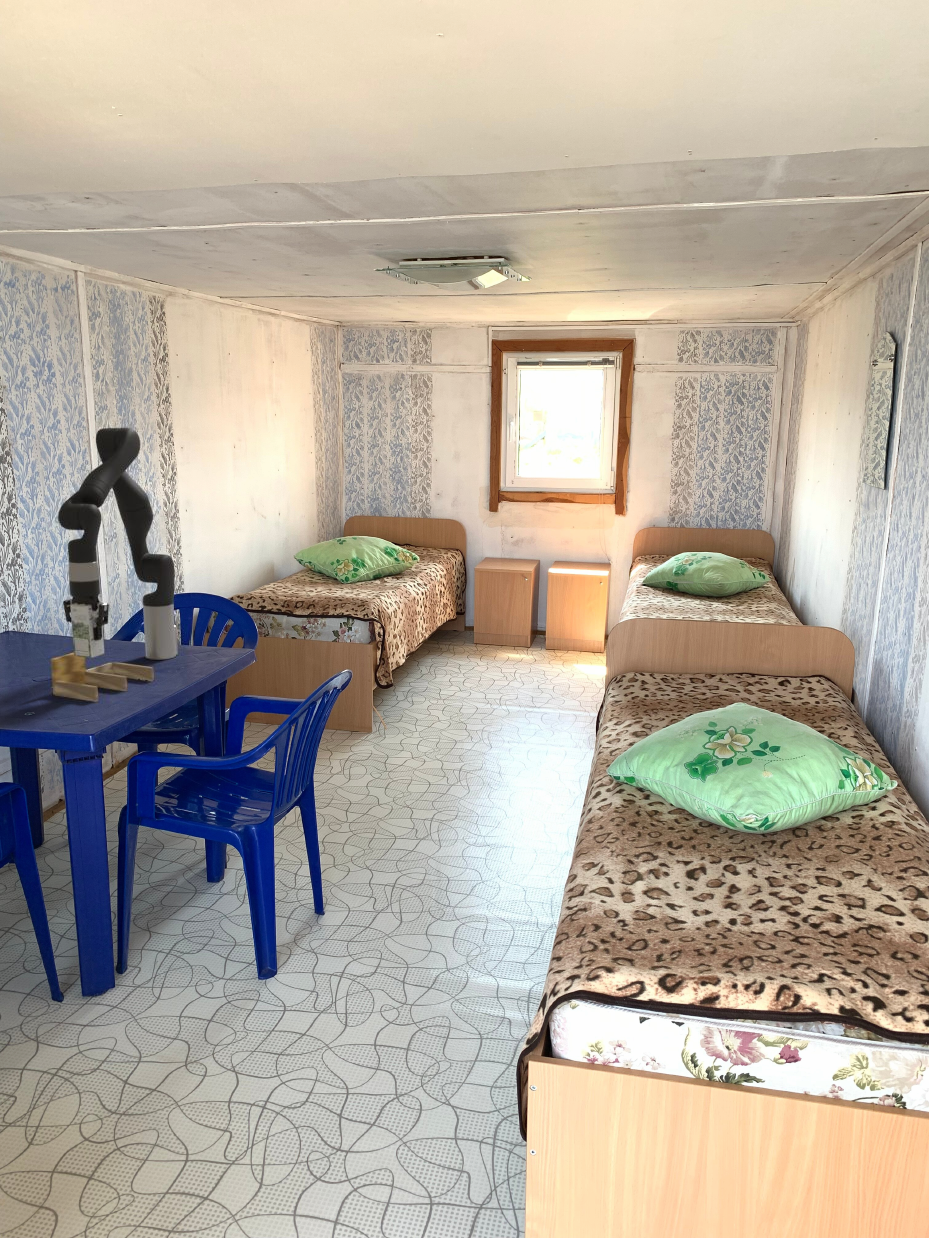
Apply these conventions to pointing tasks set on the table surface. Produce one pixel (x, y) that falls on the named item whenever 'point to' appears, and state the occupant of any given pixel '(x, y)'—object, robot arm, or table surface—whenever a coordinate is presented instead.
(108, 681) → the wooden rack
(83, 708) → the table surface
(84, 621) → the syrup box
